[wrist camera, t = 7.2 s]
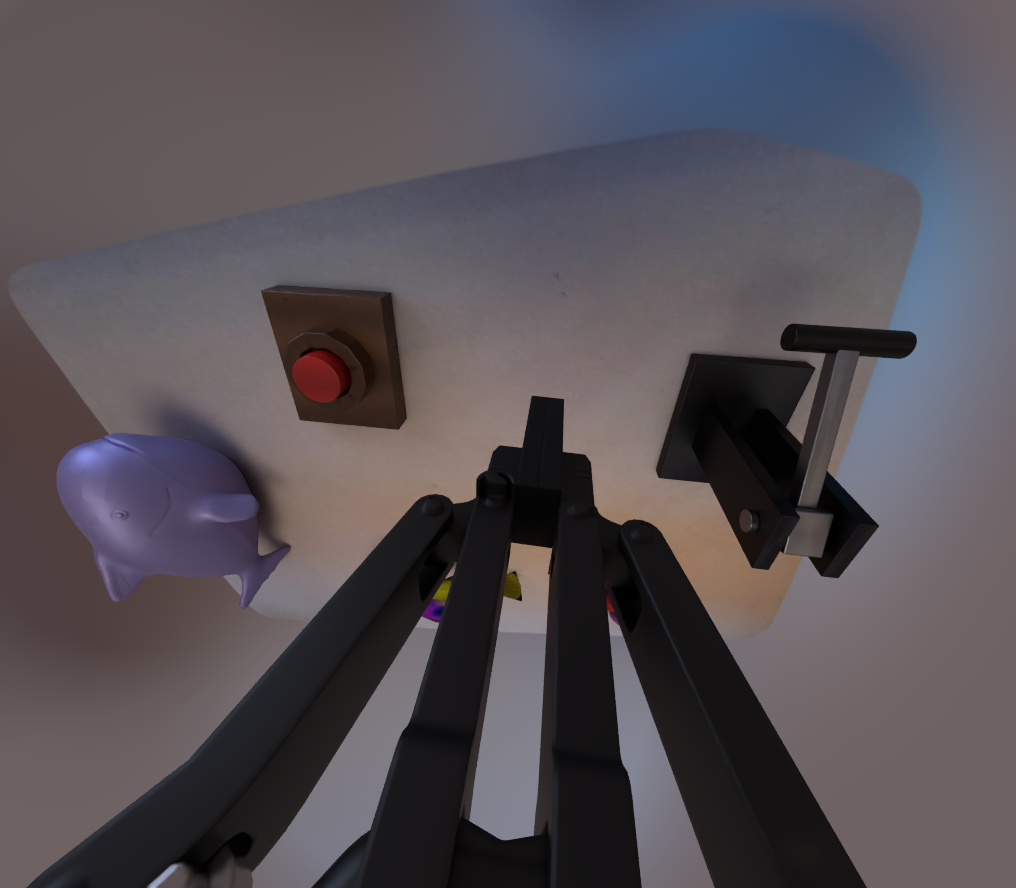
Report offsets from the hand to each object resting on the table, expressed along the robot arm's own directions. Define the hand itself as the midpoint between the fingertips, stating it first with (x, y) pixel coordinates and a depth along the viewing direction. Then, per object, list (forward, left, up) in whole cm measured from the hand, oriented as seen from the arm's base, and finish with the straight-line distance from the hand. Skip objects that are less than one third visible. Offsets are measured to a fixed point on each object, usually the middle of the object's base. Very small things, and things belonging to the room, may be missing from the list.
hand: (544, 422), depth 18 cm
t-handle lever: (-2, +16, -6) cm, 17 cm away
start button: (+9, -17, -12) cm, 23 cm away
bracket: (+2, +17, -16) cm, 24 cm away
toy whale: (+32, -27, -16) cm, 45 cm away
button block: (+9, -17, -16) cm, 25 cm away
